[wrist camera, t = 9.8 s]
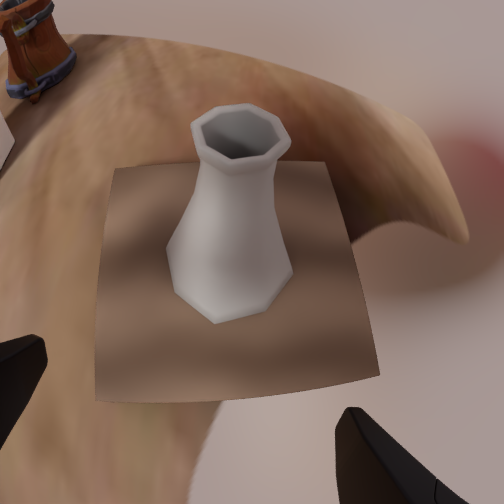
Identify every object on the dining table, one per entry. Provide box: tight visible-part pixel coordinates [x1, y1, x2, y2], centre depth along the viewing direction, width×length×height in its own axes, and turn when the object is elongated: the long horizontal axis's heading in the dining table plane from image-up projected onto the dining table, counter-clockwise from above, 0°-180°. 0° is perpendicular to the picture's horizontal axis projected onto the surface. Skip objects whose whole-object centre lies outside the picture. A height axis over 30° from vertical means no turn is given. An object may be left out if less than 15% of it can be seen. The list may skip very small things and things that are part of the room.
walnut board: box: [95, 161, 380, 403], centre depth 19 cm, size 16×16×2 cm
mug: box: [0, 0, 77, 104], centre depth 23 cm, size 18×12×15 cm, turn 23°
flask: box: [166, 103, 293, 324], centre depth 14 cm, size 7×7×10 cm
